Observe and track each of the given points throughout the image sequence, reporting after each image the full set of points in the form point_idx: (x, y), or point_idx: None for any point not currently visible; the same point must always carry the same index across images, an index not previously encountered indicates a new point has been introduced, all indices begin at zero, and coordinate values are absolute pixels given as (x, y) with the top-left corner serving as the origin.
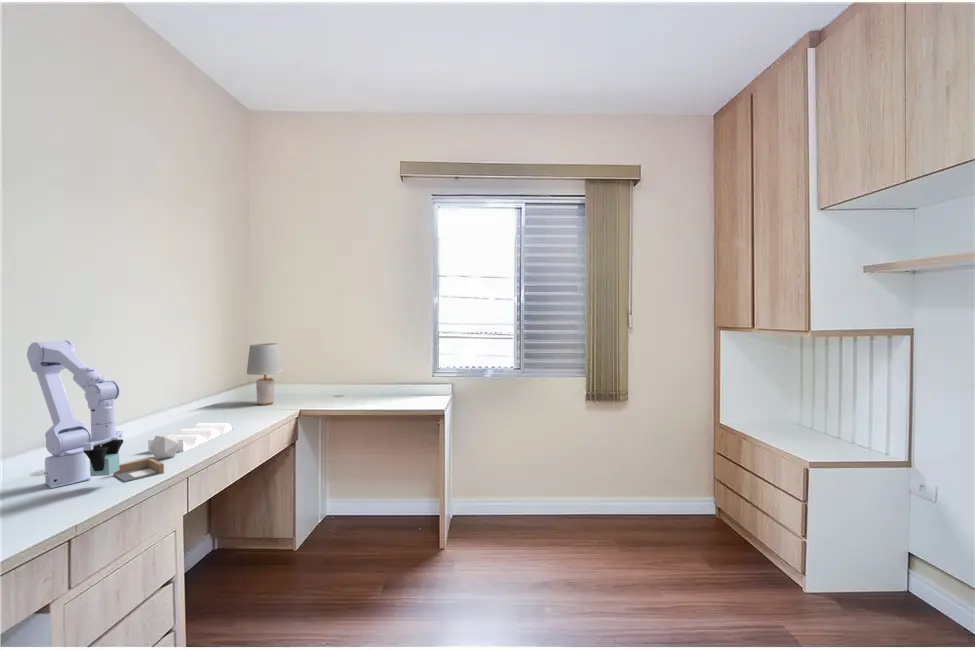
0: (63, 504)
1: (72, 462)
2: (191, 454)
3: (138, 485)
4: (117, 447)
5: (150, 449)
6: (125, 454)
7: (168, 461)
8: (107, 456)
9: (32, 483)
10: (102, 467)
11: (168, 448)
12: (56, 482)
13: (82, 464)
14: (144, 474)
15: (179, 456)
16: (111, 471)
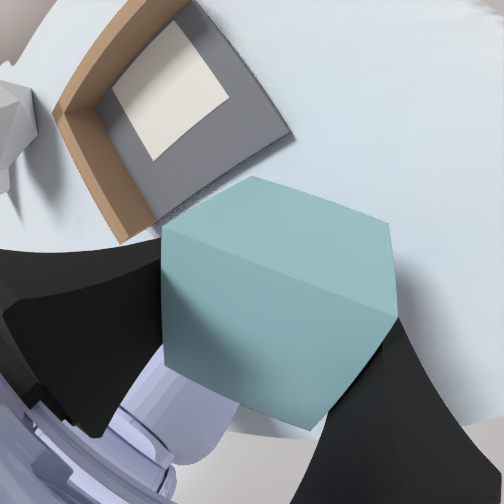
0: (501, 337)
1: (174, 406)
2: (27, 48)
3: (396, 39)
4: (94, 286)
5: (3, 187)
6: (22, 239)
7: (54, 77)
8: (258, 333)
9: None
10: None
11: (6, 95)
12: None
13: (154, 364)
14: (196, 62)
15: (30, 74)
16: (356, 218)
